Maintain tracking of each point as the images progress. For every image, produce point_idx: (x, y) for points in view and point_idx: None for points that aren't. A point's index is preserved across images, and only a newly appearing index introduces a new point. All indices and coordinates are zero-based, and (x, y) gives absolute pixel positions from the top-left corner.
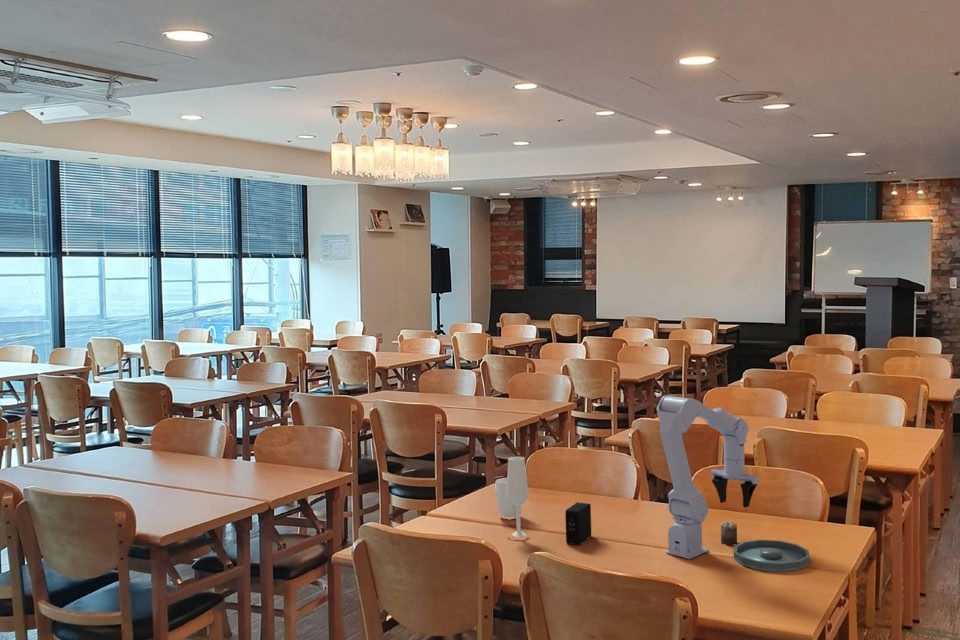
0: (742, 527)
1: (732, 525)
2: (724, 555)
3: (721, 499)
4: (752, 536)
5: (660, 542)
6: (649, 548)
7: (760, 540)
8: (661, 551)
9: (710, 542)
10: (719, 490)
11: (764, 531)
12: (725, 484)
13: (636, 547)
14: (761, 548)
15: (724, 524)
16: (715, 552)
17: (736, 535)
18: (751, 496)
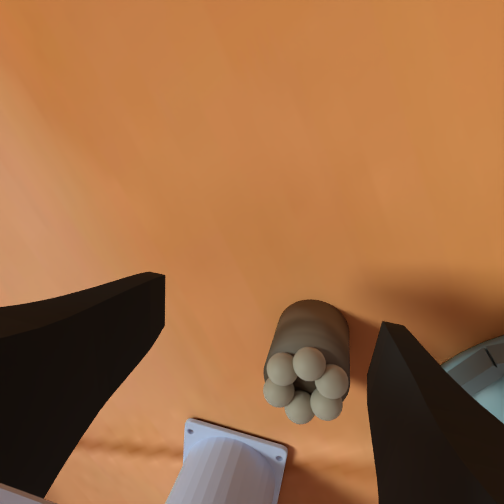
0: (265, 47)
1: (334, 416)
2: (356, 464)
3: (147, 349)
4: (379, 185)
5: (111, 412)
6: (123, 467)
7: (493, 376)
8: (164, 480)
9: (244, 353)
10: (83, 419)
11: (417, 42)
12: (40, 365)
13: (92, 469)
14: (498, 393)
15: (285, 405)
16: (313, 446)
17: (349, 358)
18: (458, 390)
